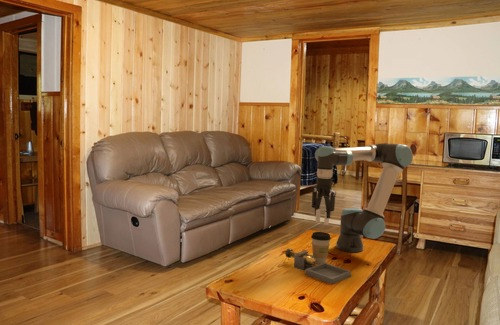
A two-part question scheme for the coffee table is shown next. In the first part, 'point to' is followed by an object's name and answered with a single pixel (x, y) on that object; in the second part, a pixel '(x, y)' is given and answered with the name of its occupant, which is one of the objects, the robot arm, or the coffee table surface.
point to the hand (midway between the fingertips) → (321, 223)
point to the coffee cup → (320, 246)
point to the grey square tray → (328, 273)
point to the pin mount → (302, 261)
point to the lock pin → (310, 260)
